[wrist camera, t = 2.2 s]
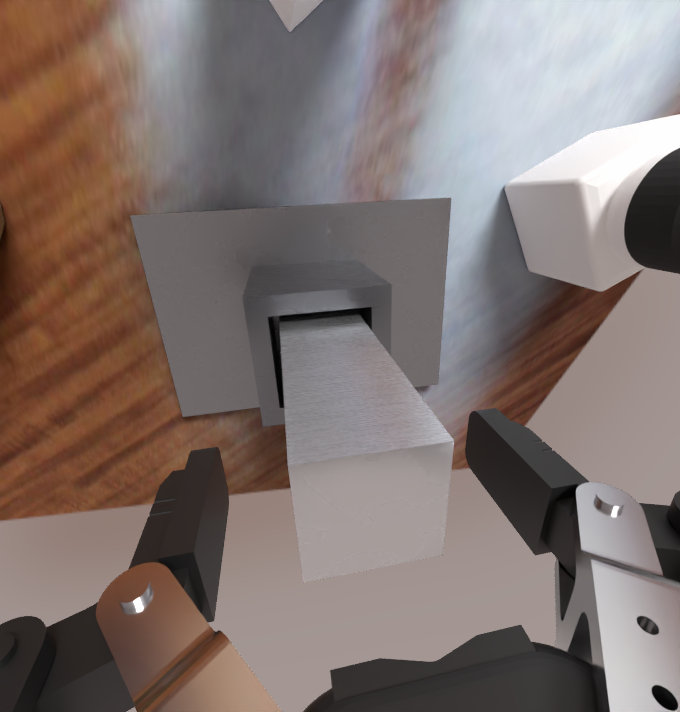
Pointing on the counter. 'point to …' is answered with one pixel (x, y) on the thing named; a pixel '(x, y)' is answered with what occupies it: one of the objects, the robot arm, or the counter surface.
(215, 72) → the counter surface
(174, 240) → the stand
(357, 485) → the column
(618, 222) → the medicine bottle
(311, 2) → the milk
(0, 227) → the squeeze bottle
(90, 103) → the counter surface
